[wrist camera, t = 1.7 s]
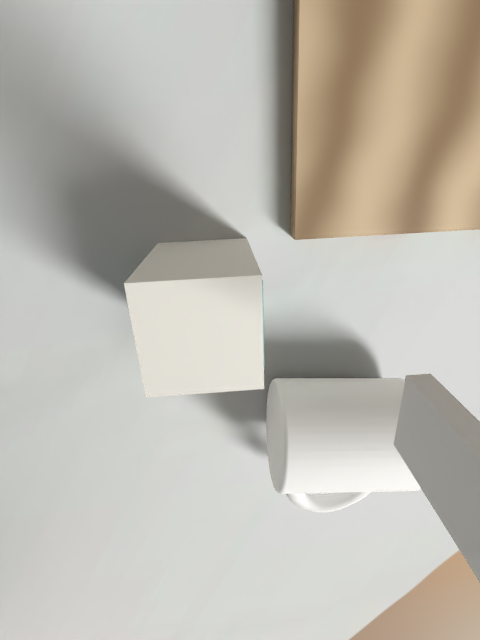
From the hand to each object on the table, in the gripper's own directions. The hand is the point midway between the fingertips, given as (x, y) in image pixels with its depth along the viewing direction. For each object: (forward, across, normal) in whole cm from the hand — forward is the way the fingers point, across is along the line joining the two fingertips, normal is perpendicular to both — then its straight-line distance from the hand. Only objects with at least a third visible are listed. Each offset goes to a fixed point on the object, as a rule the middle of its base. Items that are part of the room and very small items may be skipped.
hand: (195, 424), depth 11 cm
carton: (+15, 0, 0) cm, 15 cm away
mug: (+15, +9, -13) cm, 22 cm away
